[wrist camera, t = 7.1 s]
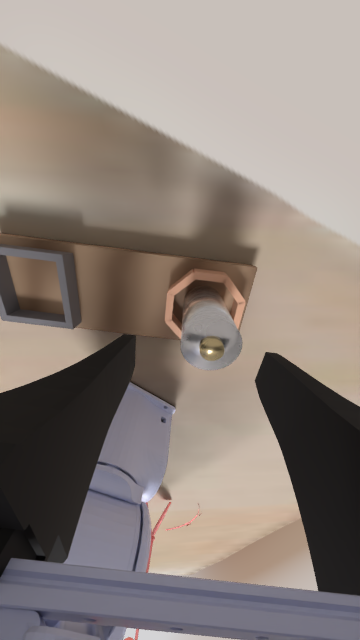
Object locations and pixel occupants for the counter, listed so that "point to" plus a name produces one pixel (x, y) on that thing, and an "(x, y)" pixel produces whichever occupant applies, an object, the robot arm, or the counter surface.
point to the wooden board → (117, 284)
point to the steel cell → (208, 330)
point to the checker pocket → (4, 298)
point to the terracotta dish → (207, 276)
